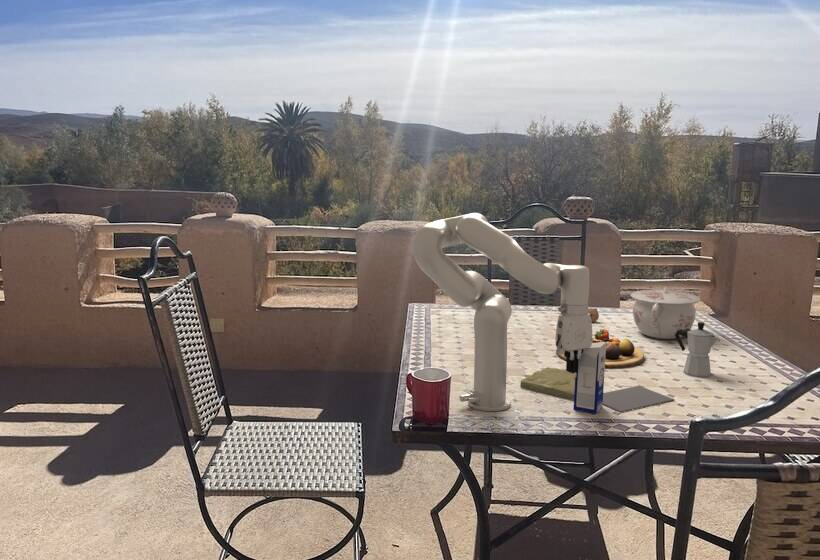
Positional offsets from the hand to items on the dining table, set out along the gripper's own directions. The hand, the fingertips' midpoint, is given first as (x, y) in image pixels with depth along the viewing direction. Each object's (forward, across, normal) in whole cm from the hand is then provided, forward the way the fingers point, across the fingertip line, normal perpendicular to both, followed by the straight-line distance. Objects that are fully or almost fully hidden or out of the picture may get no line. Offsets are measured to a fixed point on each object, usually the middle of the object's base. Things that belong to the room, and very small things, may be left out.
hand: (571, 371), depth 192 cm
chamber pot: (+13, +92, +51) cm, 106 cm away
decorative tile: (+13, +13, +19) cm, 27 cm away
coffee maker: (+13, +63, +10) cm, 65 cm away
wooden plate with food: (+13, +48, +40) cm, 64 cm away
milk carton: (+12, +7, 0) cm, 14 cm away
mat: (+12, +24, 0) cm, 27 cm away
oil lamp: (+12, +81, +83) cm, 117 cm away
